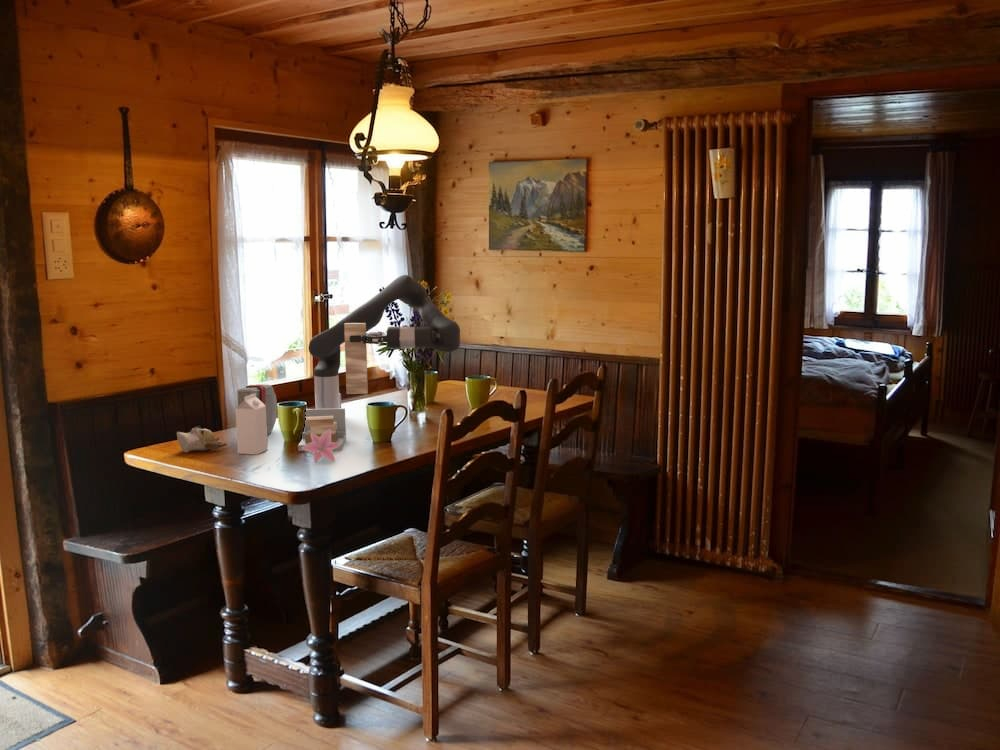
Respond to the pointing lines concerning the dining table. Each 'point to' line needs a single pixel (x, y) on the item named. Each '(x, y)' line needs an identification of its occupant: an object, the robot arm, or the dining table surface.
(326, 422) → the offcut stack
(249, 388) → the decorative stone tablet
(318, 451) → the lily
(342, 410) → the slot rack
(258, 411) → the milk carton
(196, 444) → the ceramic sculpture
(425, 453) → the dining table surface
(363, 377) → the wooden plank
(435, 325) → the robot arm
